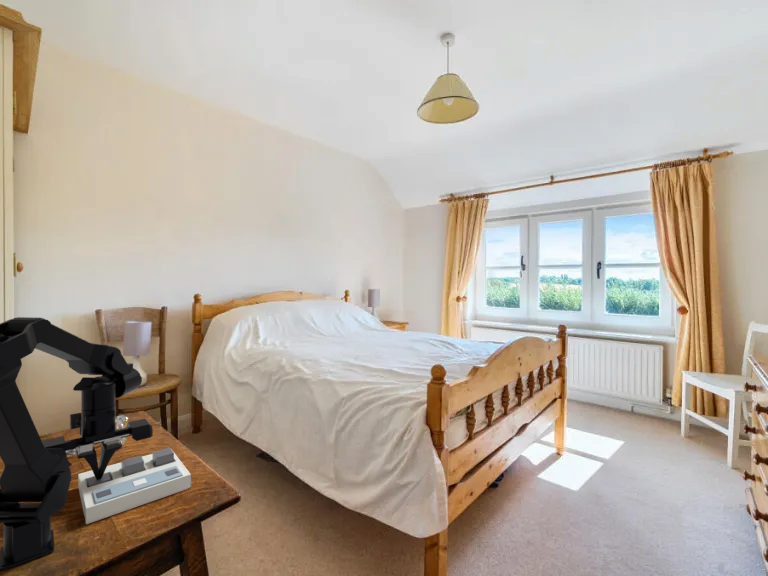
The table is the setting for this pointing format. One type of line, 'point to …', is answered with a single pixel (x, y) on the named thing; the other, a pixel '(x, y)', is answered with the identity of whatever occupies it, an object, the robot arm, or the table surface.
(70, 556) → the table surface
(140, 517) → the table surface
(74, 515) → the table surface
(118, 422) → the ring
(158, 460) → the button right
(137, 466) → the button middle
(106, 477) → the button left
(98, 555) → the table surface
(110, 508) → the button board
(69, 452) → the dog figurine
